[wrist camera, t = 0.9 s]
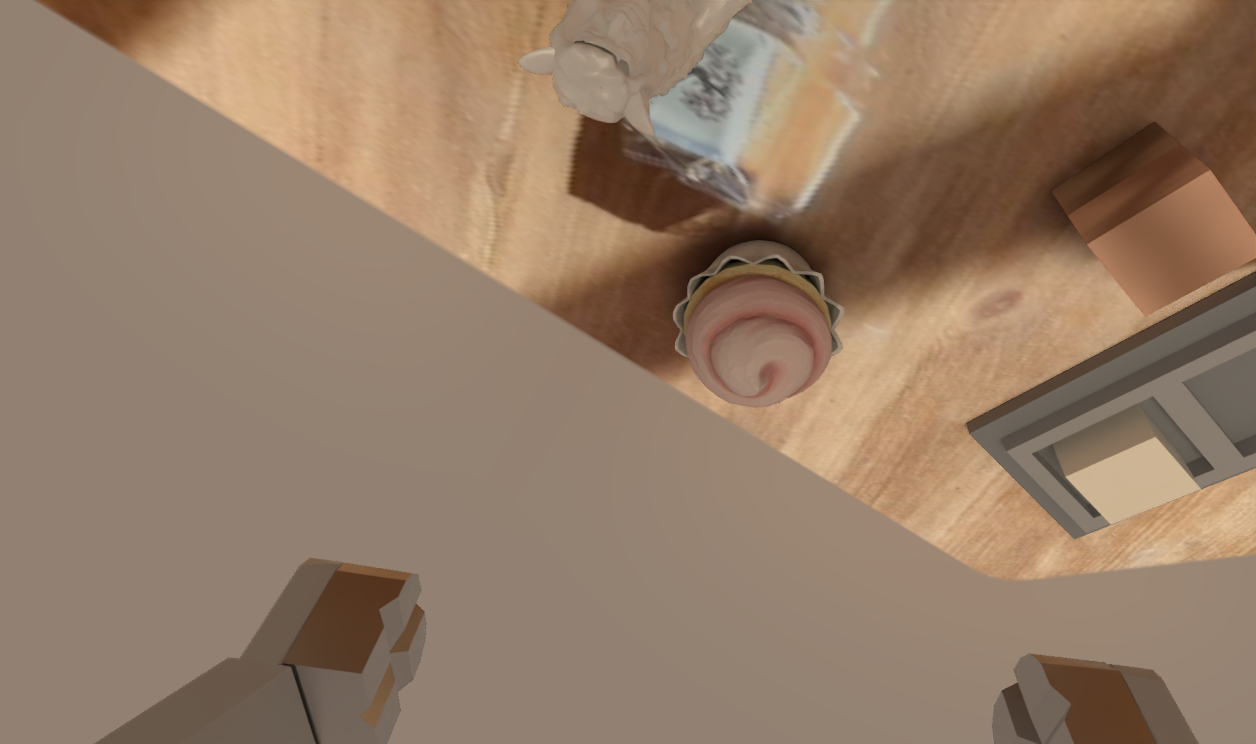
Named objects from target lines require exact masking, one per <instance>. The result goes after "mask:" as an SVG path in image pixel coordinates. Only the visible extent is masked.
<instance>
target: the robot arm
mask: <svg viewBox="0 0 1256 744" xmlns="http://www.w3.org/2000/svg"><path fill="white" fill-rule="evenodd" d="M420 592H421V586H420V581H419V576H418V574H413V573H407V572H401V571H394V570H388V569H382V568H376V567H369V566H363V565H357V564H351V563H344V562H338V561H330V560H323V559H316V558H309V559H308V560H306V561H305V562H304V563H303V564H301V565H300V566H299V567H298V569H297V570H296V572H295V573H294V575H293V576H292V578H291V579H290V581H289V582H288V584H287V586H286V587H285V589H284V590H283V592H282V593H281V595H280V596H279V598H278V599H277V601H276V603H275V604H274V606H273V607H272V609H271V610H270V612H269V613H268V615H267V616H266V618H265V620H264V621H263V623H262V624H261V626H260V627H259V629H258V630H257V632H256V634H255V635H254V637H253V638H252V640H251V641H250V643H249V644H248V646H247V647H246V649H245V651H244V652H243V654H242V655H241V657H240V658H239V659H238V658H227V659H225V660H224V661H222V662H221V663H219V664H217V665H216V666H214V667H213V668H211V669H210V670H208V671H207V672H205V673H204V674H202V675H200V676H199V677H197V678H196V679H194V680H192V681H191V682H189V683H188V684H186V685H185V686H183V687H182V688H180V689H179V690H177V691H175V692H174V693H172V694H171V695H169V696H167V697H166V698H165V699H163V700H162V701H160V702H158V703H157V704H155V705H153V706H152V707H150V708H149V709H147V710H146V711H144V712H143V713H141V714H140V715H138V716H136V717H135V718H133V719H132V720H130V721H129V722H127V723H125V724H124V725H122V726H121V727H119V728H118V729H116V730H114V731H113V732H111V733H110V734H108V735H107V736H105V737H104V738H102V739H100V740H99V741H98V742H96V743H94V744H387V743H388V740H389V738H390V735H391V733H392V730H393V727H394V725H395V723H396V721H397V718H398V716H399V713H400V711H401V709H400V703H399V698H398V691H399V690H401V689H402V688H403V687H405V686H406V685H407V684H408V683H410V682H411V681H412V680H413V678H414V676H415V673H416V670H417V668H418V665H419V663H420V660H421V656H422V651H423V647H424V643H425V635H426V619H425V612H424V611H423V610H422V609H421V608H420V607H419V606H418V605H417V604H416V602H417V600H418V597H419V595H420ZM1014 673H1015V676H1016V678H1017V681H1018V683H1016V684H1014V685H1012V686H1010V687H1008V688H1005V689H1004V690H1002V691H1001V693H1000V695H999V697H998V699H997V701H996V703H995V705H994V712H993V724H992V729H993V736H994V743H995V744H1199V743H1198V742H1197V740H1196V738H1195V736H1194V734H1193V733H1192V731H1191V729H1190V727H1189V725H1188V724H1187V722H1186V720H1185V718H1184V716H1183V715H1182V713H1181V711H1180V709H1179V708H1178V706H1177V704H1176V702H1175V701H1174V699H1173V697H1172V695H1171V693H1170V692H1169V690H1168V688H1167V686H1166V684H1165V683H1164V681H1163V680H1162V678H1161V677H1160V676H1159V675H1157V674H1156V673H1155V672H1154V671H1153V670H1150V669H1143V668H1135V667H1128V666H1120V665H1112V664H1106V663H1104V662H1095V661H1088V660H1079V659H1071V658H1062V657H1053V656H1045V655H1037V654H1027V655H1025V656H1024V657H1022V658H1020V660H1019V661H1018V663H1017V665H1016V667H1015V668H1014Z"/></svg>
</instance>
